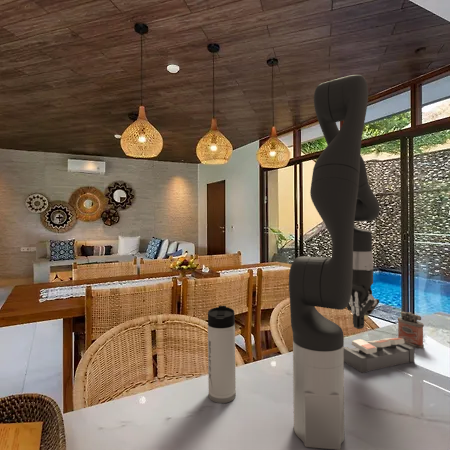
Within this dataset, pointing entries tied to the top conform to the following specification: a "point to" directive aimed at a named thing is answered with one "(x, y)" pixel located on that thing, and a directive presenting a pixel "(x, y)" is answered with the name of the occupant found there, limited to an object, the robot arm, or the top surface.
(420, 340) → the lighter
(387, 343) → the rocker middle
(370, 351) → the rocker near
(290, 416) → the top surface
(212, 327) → the travel mug
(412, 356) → the dark grey slotted base
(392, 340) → the rocker far
